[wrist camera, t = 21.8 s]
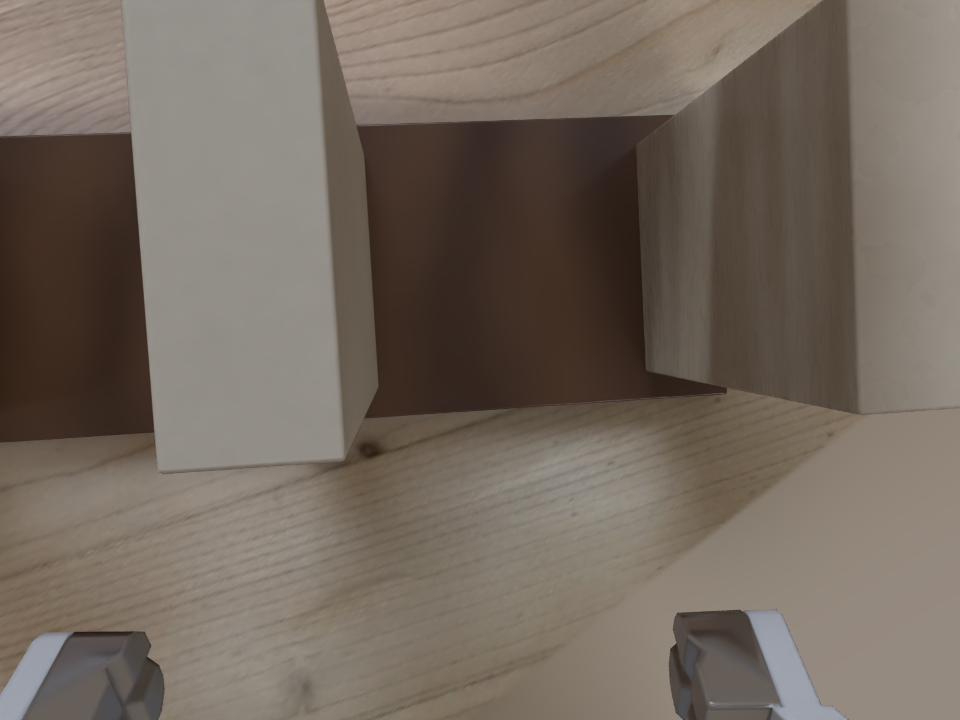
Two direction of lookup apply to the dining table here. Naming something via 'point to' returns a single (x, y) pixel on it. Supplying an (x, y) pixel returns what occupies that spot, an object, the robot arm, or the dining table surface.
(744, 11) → the dining table surface
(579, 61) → the dining table surface
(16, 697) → the robot arm
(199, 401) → the white book
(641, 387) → the wooden book rack
